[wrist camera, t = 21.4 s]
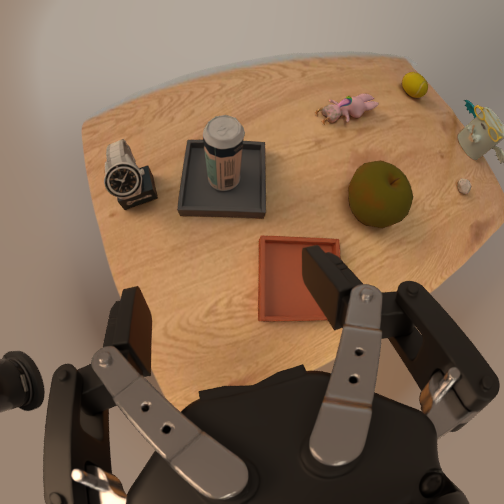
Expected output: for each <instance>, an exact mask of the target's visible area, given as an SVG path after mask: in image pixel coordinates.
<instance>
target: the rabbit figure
mask: <svg viewBox="0 0 504 504" xmlns="http://www.w3.org/2000/svg"><path fill="white" fill-rule="evenodd" d="M373 99H374V98H373V97H372V96H370V95H369V94H360V95H358V96H357V97H350V96H348V97H346V98H345V99H344V100H342V101H341V102H340V103H337V102H336V101H333V100H329V102H332V103H334V104H336V105H328V106H326V107H324V108H320V109H319V110H317V111H316V112H315V113H316V115H317V116H318V112H319V111H322V114H323V115H324V116H327V119H324V120H323V121H321V122H323V124H324V125H325V121H326V120H328V121H329V122H330V123H333V122H335V121H337V120H338V118H339V117H340V116H342V115H345V116H346V118H347V120H346V122H347V123H348V122H349V115H351V116H353V117H355V118H359V117H361V115H362V114H363V112H364V111H367V110H371V109H373V108H375V107H377V106H378V102H374V101H371V102H367V101H370V100H373ZM364 102H365V103H364Z"/></svg>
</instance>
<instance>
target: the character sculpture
mask: <svg viewBox="0 0 504 504" xmlns="http://www.w3.org/2000/svg"><path fill="white" fill-rule="evenodd" d="M465 102H466V105H465V106H466V107H467V110H469V113H472V114H473V116H474V119H473V120H472V121H471V122H470V123H469V124H468V125H466V127H465V128H464V129H463V130H462V131H461V132H460V133H459V134H458V140H459V143H460V145H461V147H462V148H463V150H464V151H465V152H466V154H467V155H468V156H469V157H470V158H472V159H473V160H478V159H479V158H480V157H481V156H483V155H484V154H485V153H487V152H488V151H489V150H490V149H494V150H495V151H496V156H497V157H498V160H499V161H500V163H502V162H503V163H504V153H503V151H502V150H501V148H499V147H497V146H495V145H496V144H498V143H499V142H500V141H501V140H502V139H504V125H503V124H502V122H501V120H500V119H499V118H498V116H497V115H496V114H495V113H494V112H493V111H492V110H491V109H489V108H488V107H486V108H483V107H480V106H478V105H477V106H475V107H474V105H473V104H472V103H471V102H470V101H468V100H465ZM476 108H479V109H480V110H481V113H479V114H478V115H477V113H476Z"/></svg>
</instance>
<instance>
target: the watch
mask: <svg viewBox="0 0 504 504" xmlns="http://www.w3.org/2000/svg"><path fill="white" fill-rule="evenodd" d="M106 156H107V162H105V179H104V184H105V187H106V189H107V191H108V192H109V193H110V194H111V195H113V196H115V197H117V199H118V202H119V204H120V205H121V206H122V207H123V208H124V210H126V209H129V208H132V207H135V206H137V205H140V204H143V203H146V202H149V201H152V200H155V199H157V198H158V197H157V193H156V188H155V184H154V179H153V175H152V173H151V171H150V169H149V166H145V167H142V168H139V167H138V166H137V165H136V163H135V159H134V157H133V155H132V152H131V149H130V147H129V146H128V145H127V143H126V141H125V140H124V139H122V140H120V141H117V142H115V143H112V144H110V145H108V146H107V152H106Z"/></svg>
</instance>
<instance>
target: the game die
mask: <svg viewBox="0 0 504 504" xmlns="http://www.w3.org/2000/svg"><path fill="white" fill-rule="evenodd" d="M457 187H458V190H459V192H461V193H464V194H468V193H469V191H470V189H471V184H470V181H469V180H467V179H460V181H459V182H458V185H457Z"/></svg>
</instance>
